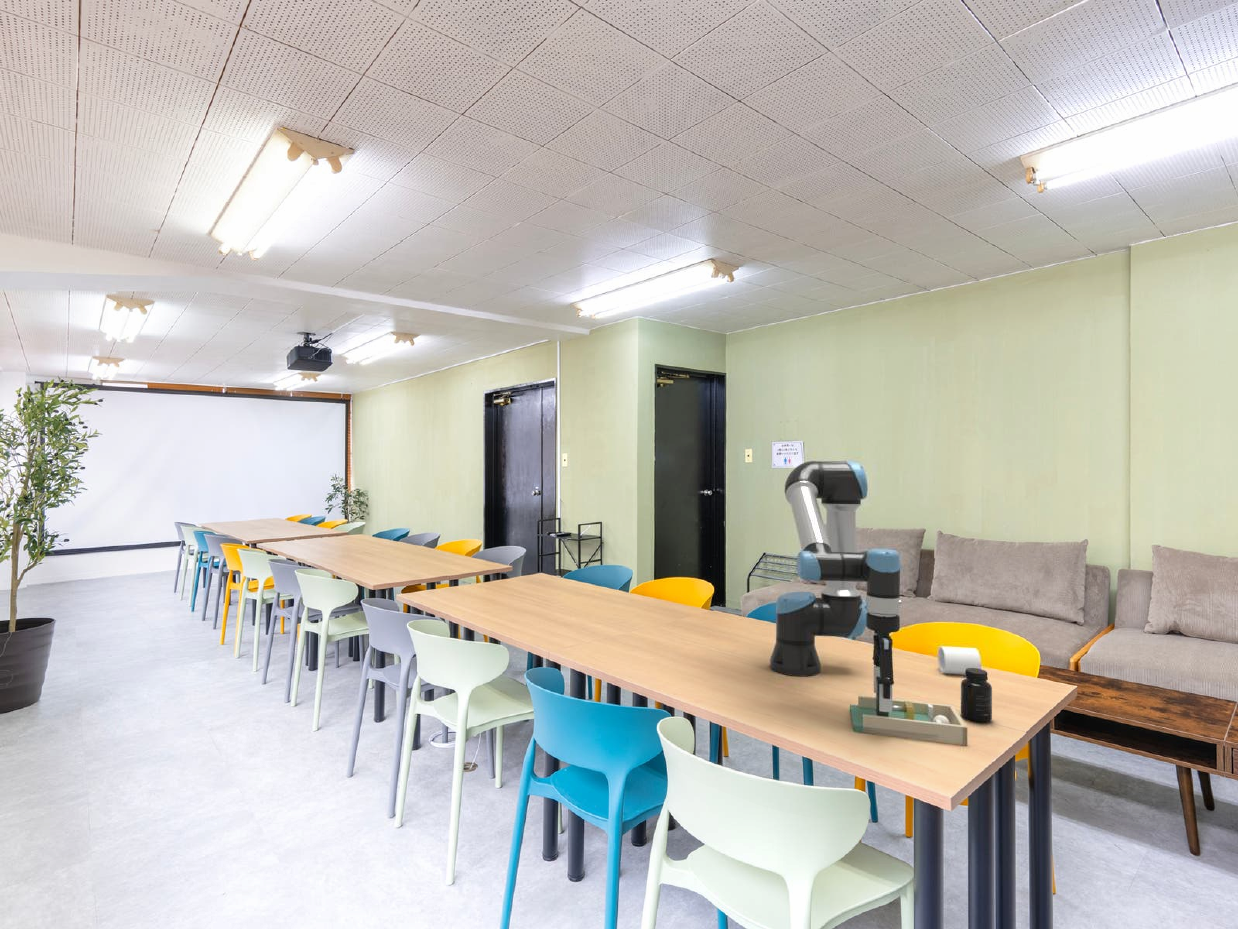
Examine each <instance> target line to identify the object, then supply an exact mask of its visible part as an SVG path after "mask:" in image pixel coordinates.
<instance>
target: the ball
mask: <svg viewBox="0 0 1238 929" xmlns="http://www.w3.org/2000/svg"><path fill="white" fill-rule="evenodd" d="M935 719H937V720H941V722H942V723H945V724H950V722H949V720H948V719H947V718H946V717H945V716H942V715H938V716H936V717H935V718H934V719H933V722H935Z"/></svg>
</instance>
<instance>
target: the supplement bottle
mask: <svg viewBox="0 0 1238 929" xmlns="http://www.w3.org/2000/svg"><path fill="white" fill-rule="evenodd" d="M964 677H965V678H963V679H962V680H961V682H960V717H961V718H962V719H964V720H965V721H969V722H972V723H976V724H988V723H991V721H992V719H993V686H992V685H991V683H990V682H988V680H989V677H988V671H986V670H985V669H982V668H981V669H978V668H967V669H966V670H965V675H964Z"/></svg>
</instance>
